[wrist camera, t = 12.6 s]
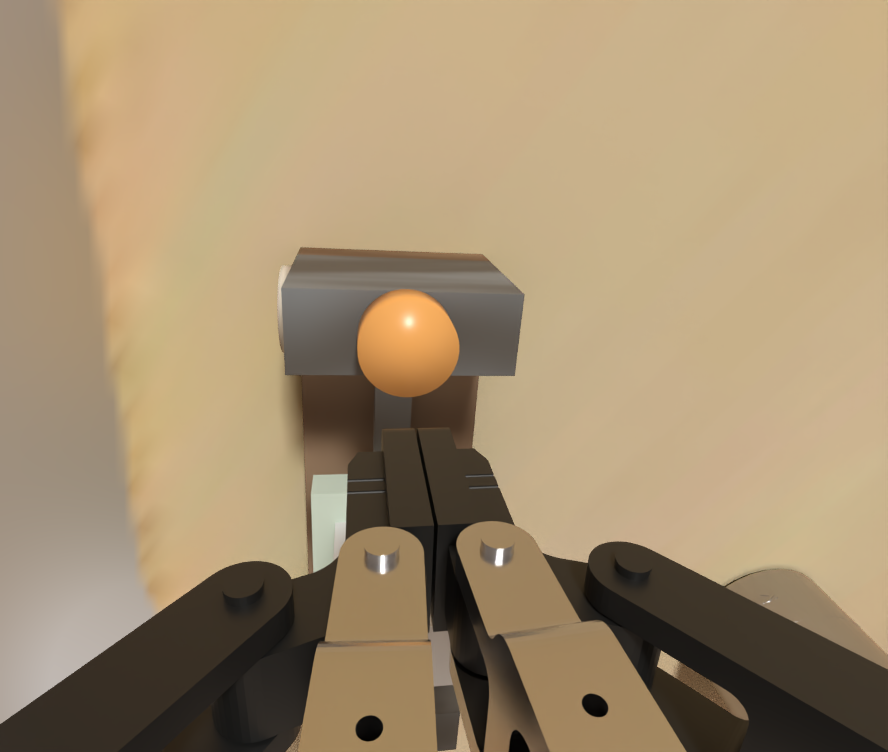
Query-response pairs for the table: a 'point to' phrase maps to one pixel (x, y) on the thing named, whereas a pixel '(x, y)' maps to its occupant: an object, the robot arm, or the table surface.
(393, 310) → the gauge button
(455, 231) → the table surface
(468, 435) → the rail
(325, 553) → the carriage
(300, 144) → the table surface
